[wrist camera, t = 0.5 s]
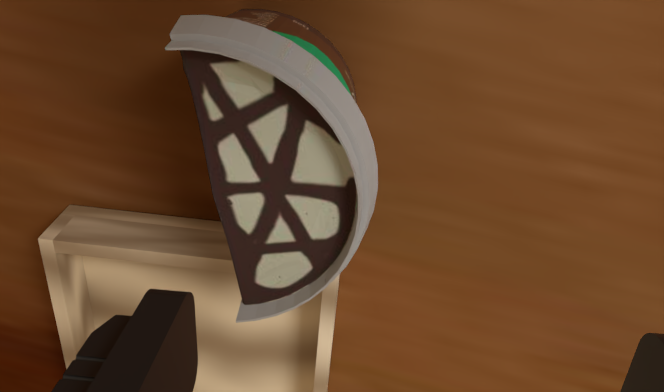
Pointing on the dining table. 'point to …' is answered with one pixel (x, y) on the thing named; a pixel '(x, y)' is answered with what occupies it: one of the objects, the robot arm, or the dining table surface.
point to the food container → (279, 152)
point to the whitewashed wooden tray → (189, 276)
